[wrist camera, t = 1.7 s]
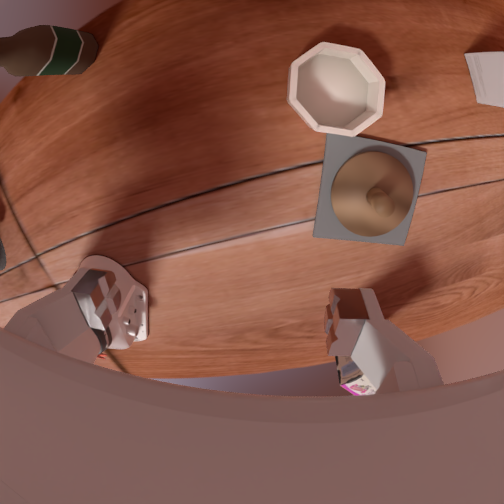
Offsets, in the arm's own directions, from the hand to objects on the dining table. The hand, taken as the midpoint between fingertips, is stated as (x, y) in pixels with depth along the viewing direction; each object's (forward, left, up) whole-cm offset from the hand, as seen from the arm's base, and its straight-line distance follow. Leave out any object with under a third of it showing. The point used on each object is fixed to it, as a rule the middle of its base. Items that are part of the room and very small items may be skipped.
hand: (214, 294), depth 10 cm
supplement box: (+21, -37, -31) cm, 53 cm away
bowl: (+10, -9, -31) cm, 34 cm away
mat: (-4, -17, -31) cm, 36 cm away
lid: (-4, -17, -30) cm, 35 cm away
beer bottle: (+18, +29, -31) cm, 46 cm away
